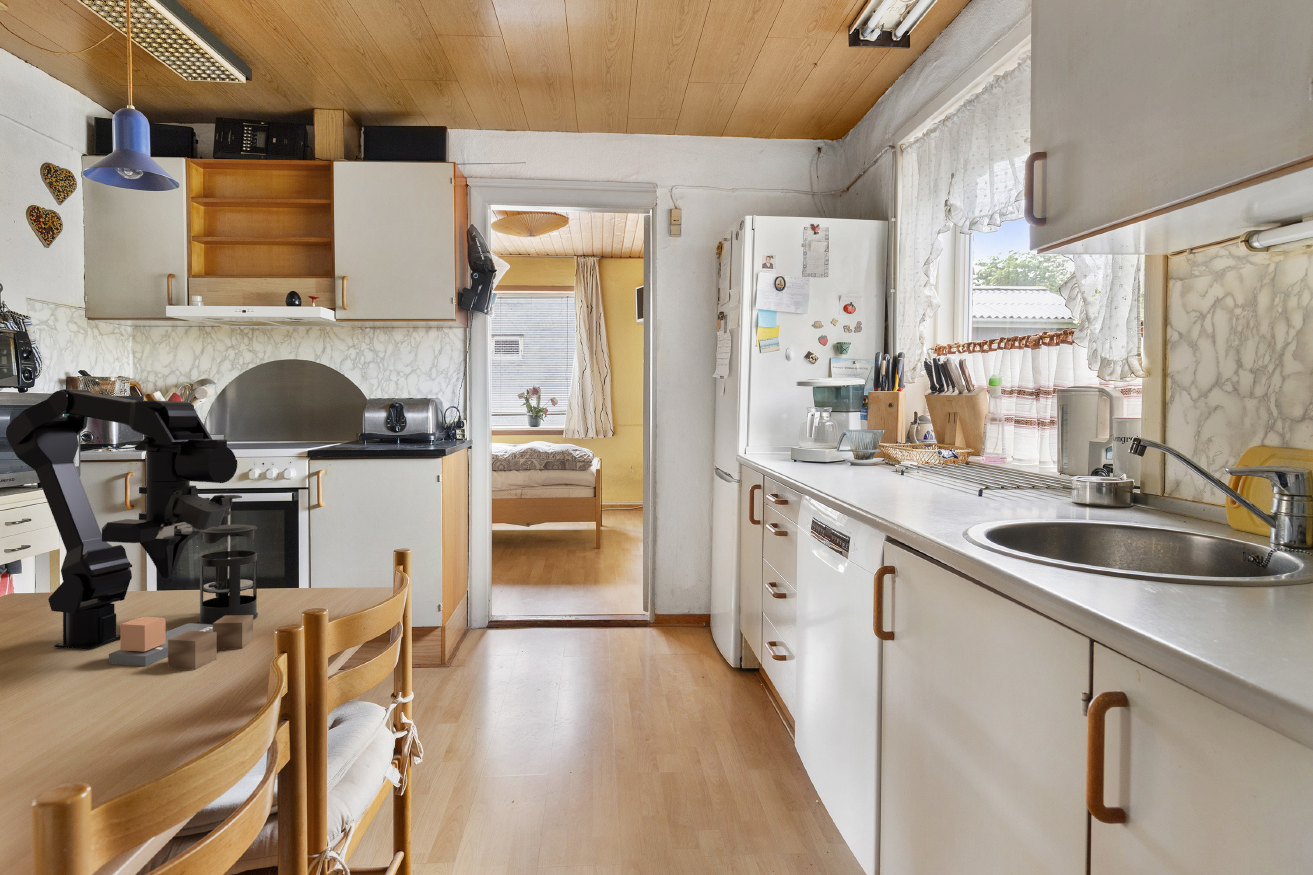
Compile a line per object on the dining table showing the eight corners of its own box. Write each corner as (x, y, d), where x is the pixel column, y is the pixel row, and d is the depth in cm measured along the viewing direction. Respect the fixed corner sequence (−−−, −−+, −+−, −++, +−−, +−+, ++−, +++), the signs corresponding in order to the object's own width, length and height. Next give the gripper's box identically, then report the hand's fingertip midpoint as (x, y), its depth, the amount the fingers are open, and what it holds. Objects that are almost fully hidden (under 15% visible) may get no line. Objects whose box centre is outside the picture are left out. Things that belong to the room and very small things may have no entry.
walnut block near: (168, 668, 106) (168, 639, 106) (190, 658, 110) (190, 630, 110) (195, 670, 106) (195, 641, 105) (216, 660, 110) (216, 632, 110)
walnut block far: (212, 650, 114) (212, 623, 114) (224, 641, 119) (224, 615, 119) (242, 649, 115) (242, 622, 115) (253, 640, 119) (253, 614, 119)
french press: (265, 620, 130) (265, 496, 130) (205, 630, 124) (205, 499, 123) (248, 607, 139) (248, 490, 138) (191, 615, 132) (192, 493, 132)
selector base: (108, 663, 107) (108, 652, 107) (188, 631, 123) (188, 621, 123) (145, 665, 107) (145, 654, 106) (220, 633, 122) (220, 623, 122)
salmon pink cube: (120, 650, 108) (120, 624, 108) (141, 641, 112) (141, 616, 112) (144, 651, 108) (144, 625, 107) (165, 643, 112) (165, 617, 111)
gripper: (170, 488, 102) (169, 595, 103) (254, 477, 121) (253, 567, 121) (98, 484, 103) (98, 591, 104) (193, 474, 122) (192, 564, 122)
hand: (167, 577), depth 113 cm, fingers closed
